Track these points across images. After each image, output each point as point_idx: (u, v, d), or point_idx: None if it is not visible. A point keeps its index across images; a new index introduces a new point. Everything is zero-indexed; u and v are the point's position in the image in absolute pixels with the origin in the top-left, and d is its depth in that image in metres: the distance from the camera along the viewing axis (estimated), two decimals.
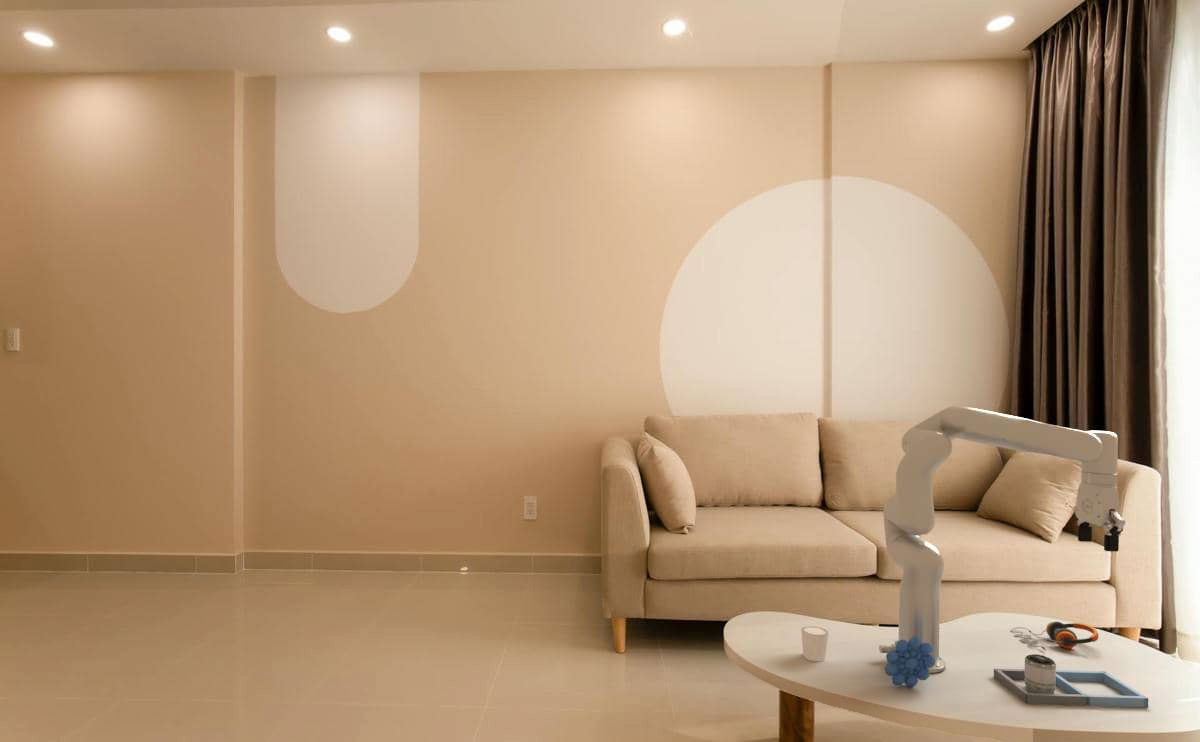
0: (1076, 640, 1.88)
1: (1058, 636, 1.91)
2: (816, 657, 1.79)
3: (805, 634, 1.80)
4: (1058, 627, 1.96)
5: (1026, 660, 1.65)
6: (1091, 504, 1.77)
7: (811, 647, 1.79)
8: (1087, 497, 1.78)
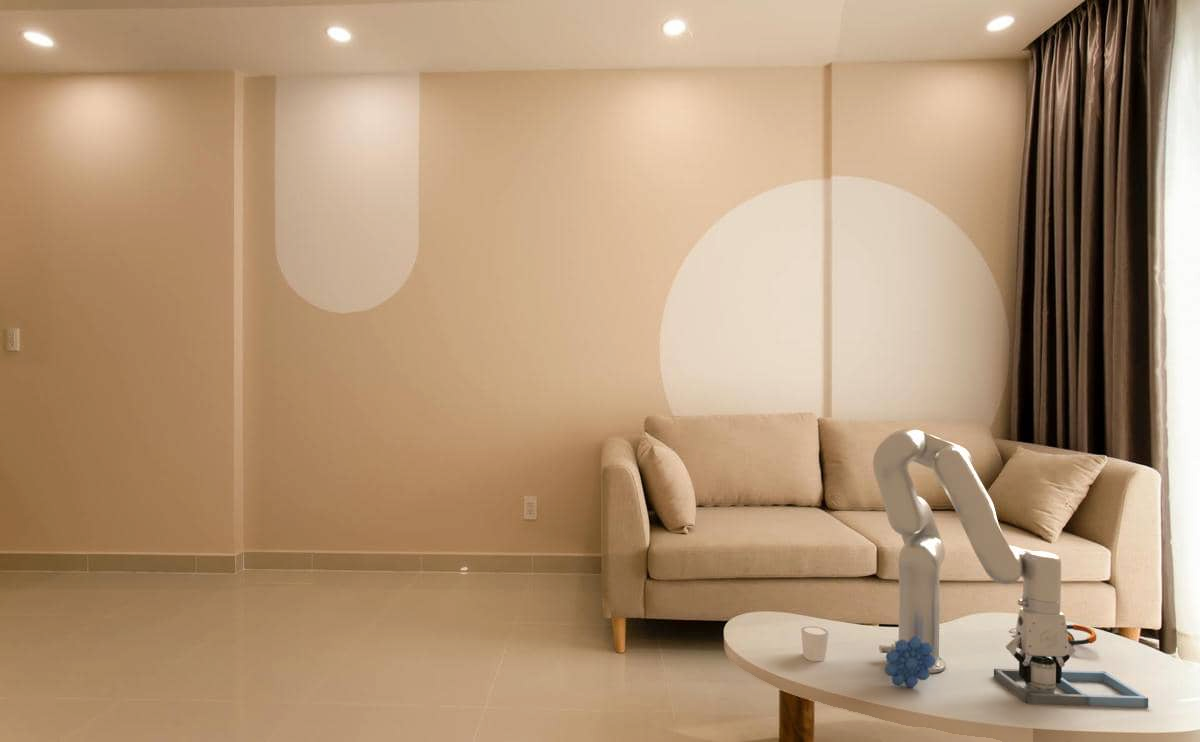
0: (1072, 641, 1.87)
1: None
2: (816, 657, 1.79)
3: (805, 634, 1.80)
4: None
5: None
6: (1054, 635, 1.62)
7: (811, 647, 1.79)
8: (1048, 629, 1.62)
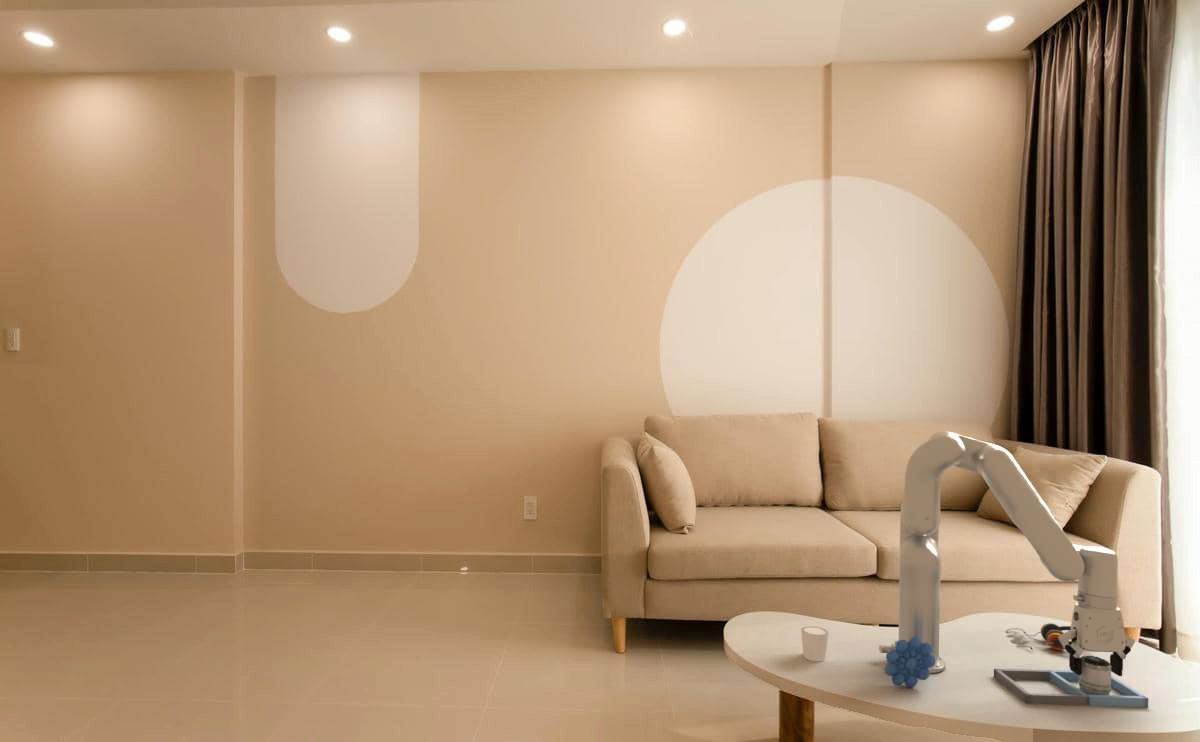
0: None
1: (1049, 637, 1.90)
2: (816, 657, 1.79)
3: (805, 634, 1.80)
4: (1052, 629, 1.95)
5: None
6: (1111, 630, 1.62)
7: (811, 647, 1.79)
8: (1105, 624, 1.62)
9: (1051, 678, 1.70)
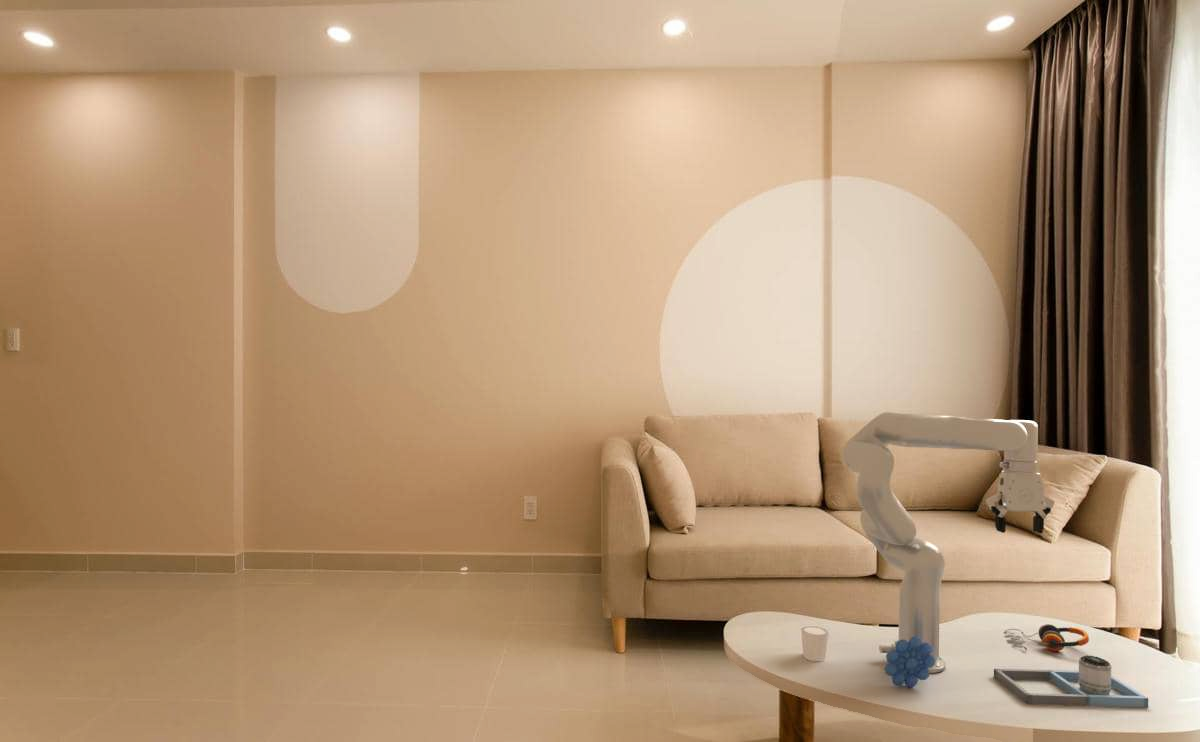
0: (1061, 643, 1.86)
1: (1044, 638, 1.89)
2: (816, 657, 1.79)
3: (805, 634, 1.80)
4: (1050, 630, 1.94)
5: (1081, 661, 1.65)
6: (1031, 492, 1.81)
7: (811, 647, 1.79)
8: (1026, 486, 1.81)
9: (1051, 678, 1.70)
